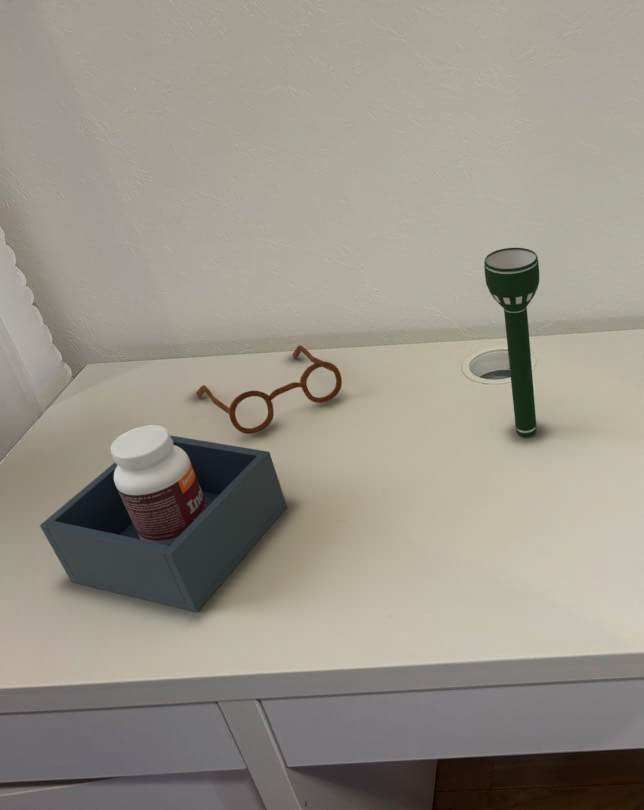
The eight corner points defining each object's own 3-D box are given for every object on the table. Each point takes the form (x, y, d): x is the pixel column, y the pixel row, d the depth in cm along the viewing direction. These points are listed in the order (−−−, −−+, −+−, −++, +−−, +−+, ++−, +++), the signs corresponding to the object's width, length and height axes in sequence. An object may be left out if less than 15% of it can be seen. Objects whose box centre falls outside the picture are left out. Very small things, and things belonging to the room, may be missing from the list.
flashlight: (547, 416, 87) (534, 244, 76) (553, 443, 83) (541, 266, 72) (500, 421, 87) (481, 250, 76) (504, 449, 83) (485, 272, 71)
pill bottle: (219, 546, 72) (180, 449, 66) (146, 569, 70) (99, 472, 64) (212, 505, 77) (175, 412, 71) (144, 527, 75) (100, 432, 69)
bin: (71, 582, 71) (39, 525, 67) (173, 485, 81) (150, 431, 77) (197, 612, 67) (171, 554, 63) (287, 507, 77) (269, 451, 73)
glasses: (240, 443, 87) (227, 405, 84) (196, 396, 95) (183, 360, 92) (347, 395, 93) (338, 358, 90) (297, 355, 102) (288, 321, 99)
